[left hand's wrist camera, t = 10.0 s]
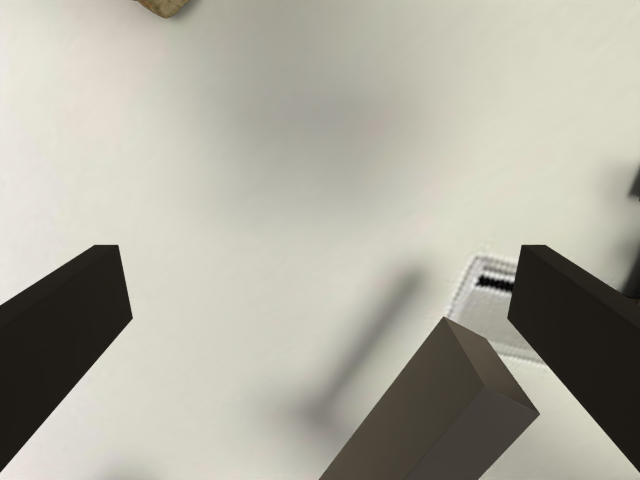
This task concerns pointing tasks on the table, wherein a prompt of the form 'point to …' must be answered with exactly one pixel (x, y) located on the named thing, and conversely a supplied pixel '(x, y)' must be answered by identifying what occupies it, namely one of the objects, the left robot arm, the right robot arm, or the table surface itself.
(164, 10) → the sculpture
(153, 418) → the table surface
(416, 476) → the bar
